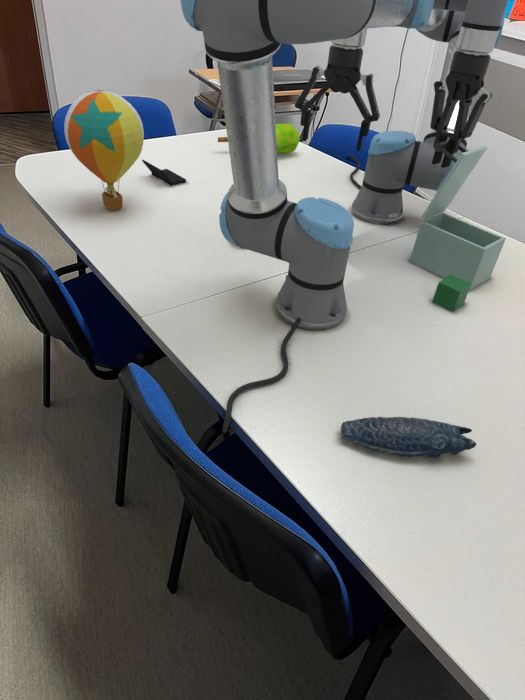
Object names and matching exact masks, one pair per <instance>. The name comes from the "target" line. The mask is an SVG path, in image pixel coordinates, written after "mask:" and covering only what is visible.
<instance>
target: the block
mask: <svg viewBox="0 0 525 700" xmlns="http://www.w3.org/2000/svg"><path fill="white" fill-rule="evenodd" d="M470 286H471V284H470V283H468V282H466V281H464V280H462V279H459V278H457V277H455V276H453V275H449V276H447V277H446V278H443V279H441V280H439V281H438V283H437V286H436V290H435V292H434V294H433V298H432V301H431V302H432V303H434V304H436V305H438V306H440V307H442V308H444V309H446V310H448V311H450V312H455V311H456V310H458V309H459V308H461V306H463V305H464V304H465V302H466V300H467V296H468V294H469V292H470V291H469V289H470Z"/></svg>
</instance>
